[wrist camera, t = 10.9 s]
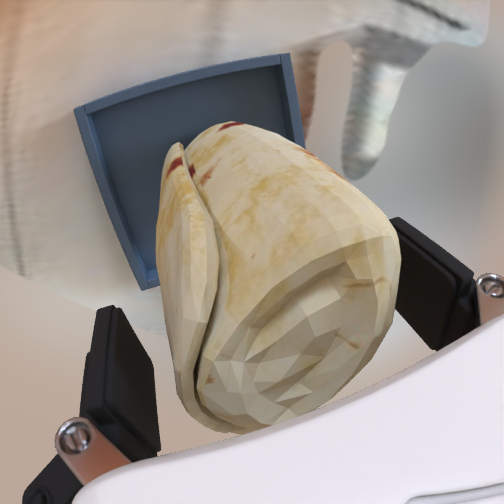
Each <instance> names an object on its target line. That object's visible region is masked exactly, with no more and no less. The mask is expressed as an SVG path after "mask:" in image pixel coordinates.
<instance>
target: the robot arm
mask: <svg viewBox="0 0 504 504" xmlns="http://www.w3.org/2000/svg"><path fill="white" fill-rule="evenodd" d="M389 221H390V223H391V224H392V226H393V227H394V229H395V230H396V232H397V236H398V239H399V246H400V254H401V266H400V274H399V283H398V290H397V297H396V304H395V309H396V310H397V311H398V312H399V314H400V315H401V316H402V317H403V318H404V319H405V320H406V321H407V322H408V324H409V325H410V326H411V327H412V328H413V329H414V330H415V332H416V333H417V334H418V335H419V336H420V337H421V338H422V339H423V341H424V342H425V343H426V344H427V345H428V346H429V348H430V349H432V350H436V351H437V352H436V353H434V354H432V355H430V356H428V357H427V358H425V359H423V360H421V361H419V362H417V363H416V364H414V365H412V366H410V367H408V368H406V369H404V370H402V371H400V372H398V373H396V374H394V375H392V376H390V377H388V378H386V379H385V380H382V381H380V382H378V383H376V384H374V385H372V386H370V387H367V388H365V389H363V390H361V391H359V392H356V393H354V394H352V395H350V396H347V397H345V398H343V399H340V400H338V401H336V402H333V403H331V404H329V405H326V406H323V407H321V408H318V409H316V410H313V411H311V412H308V413H305V414H303V415H300V416H297V417H295V418H292V419H289V420H286V421H283V422H281V423H278V424H275V425H272V426H269V427H266V428H263V429H259V430H256V431H253V432H250V433H247V434H243V435H240V436H237V437H233V438H229V439H226V440H222V441H218V442H214V443H211V444H207V445H203V446H199V447H196V448H191V449H187V450H183V451H179V452H174V453H170V454H165V455H161V456H157V452H158V451H160V450H161V443H160V436H159V435H160V434H159V425H158V415H157V406H156V405H157V404H156V393H155V381H154V380H155V379H154V367H153V364H152V361H151V359H150V357H149V356H148V354H147V352H146V351H145V349H144V347H143V346H142V344H141V343H140V341H139V339H138V337H137V336H136V334H135V332H134V330H133V329H132V327H131V325H130V323H129V321H128V320H127V318H126V316H125V314H124V312H123V311H122V309H121V308H116V307H115V306H114V305H110V306H107V307H104V308H100V309H98V310H97V313H96V319H95V325H94V330H93V336H92V343H91V350H90V352H89V353H87V356H86V362H85V369H84V376H83V384H82V394H81V403H80V414H79V417H74V418H71V419H68V420H67V421H66V422H64V423H63V424H62V425H61V426H60V428H59V429H58V431H57V433H56V436H55V448H56V450H57V452H58V454H57V455H56V456H55V457H54V458H53V459H52V461H51V462H50V463H49V464H48V465H47V466H46V467H45V468H44V469H43V470H42V472H41V473H40V474H39V475H38V476H37V477H36V478H35V479H34V480H33V481H32V483H31V484H30V485H29V486H28V487H27V489H26V490H25V492H24V494H23V499H22V504H504V277H502V276H500V275H497V274H492V273H486V274H483V275H481V276H480V277H478V279H477V280H476V281H475V280H474V279H473V275H474V272H473V271H471V270H470V269H469V268H468V267H466V266H465V265H464V264H463V263H461V262H460V261H459V260H457V259H456V258H455V257H454V256H452V255H451V254H450V253H448V252H447V251H446V250H444V249H443V248H442V247H440V246H439V245H438V244H436V243H435V242H434V241H432V240H431V239H429V238H428V237H427V236H426V235H424V234H422V233H421V232H420V231H419V230H417V229H416V228H414V227H413V226H411V225H410V224H408V223H407V222H406V221H404V220H403V219H401V218H400V217H396V218H393V219H389Z"/></svg>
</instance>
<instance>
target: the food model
mask: <svg viewBox="0 0 504 504" xmlns="http://www.w3.org/2000/svg"><path fill="white" fill-rule="evenodd" d="M156 266H157V271H158V276H159V281H160V287H161V293H162V300H163V309H164V317H165V325H166V330H167V335H168V340H169V344H170V350H171V355H172V360H173V366H174V373H175V382H176V391H177V395H178V396H179V398H180V400H181V402H182V404H183V406H184V408H185V409H186V411H187V412H188V413H189V414H190V415H191V416H192V417H193V418H194V419H195V420H196V421H198V422H199V423H201V424H202V425H204V426H205V427H207V428H210V429H212V430H214V431H217V432H222V433H228V432H232V433H236V434H241V435H243V434H247V433H250V432H253V431H256V430H259V429H263V428H266V427H269V426H272V425H275V424H278V423H281V422H283V421H286V420H289V419H292V418H295V417H297V416H300V415H303V414H305V413H308V412H311V411H313V410H316V409H317V408H318V407H320V406H321V405H322V404H324V403H325V402H327V401H328V400H330V399H331V398H333V397H334V396H335V395H336V394H337V393H338V392H339V391H340V390H341V389H342V388H343V387H344V386H345V385H346V384H348V383H349V382H350V380H351V379H353V378H354V377H355V375H357V373H359V372H360V371H361V370H362V369H363V367H365V366H366V365H367V364H368V362H369V361H370V360H371V359H372V358H373V356H374V354H375V353H376V351H377V349H378V347H379V346H380V344H381V342H382V340H383V339H384V337H385V335H386V333H387V332H388V330H389V328H390V326H391V324H392V322H393V316H394V310H395V304H396V297H397V290H398V283H399V274H400V266H401V254H400V246H399V239H398V236H397V232H396V230H395V229H394V227H393V226H392V224H391V223H390V221H389V220H388V218H387V217H386V216H385V214H383V212H382V211H381V210H380V209H379V208H378V207H377V206H376V205H375V204H374V203H373V202H372V201H370V200H369V199H368V198H367V197H366V196H365V195H364V194H363V193H361V192H360V191H359V190H358V189H357V188H355V187H354V186H353V185H352V184H351V183H349V182H348V181H347V180H346V179H344V178H343V177H342V176H341V175H339V174H338V173H337V172H335V171H334V170H333V169H331V168H330V167H329V166H327V165H326V164H325V163H323V162H322V161H321V160H320V159H318V158H317V157H316V156H314V155H313V154H311V153H310V152H308V151H307V150H305V149H304V148H302V147H301V146H299V145H297V144H295V143H293V142H291V141H289V140H287V139H286V138H284V137H282V136H280V135H279V134H277V133H273V132H270V131H267V130H264V129H262V128H259V127H255V126H252V125H248V124H244V123H239V122H233V121H230V122H226V123H222V124H217V125H214V126H212V127H210V128H208V129H207V130H205V131H203V132H202V133H200V134H199V135H198V136H197V137H196V138H195V139H194V140H193V141H192V142H191V143H190V144H189V145H188V147H187V148H186V149H185V150H183V145H182V144H181V143H180V142H177V143H176V144H174V145H172V147H171V148H170V149H169V151H168V153H167V156H166V158H165V162H164V166H163V170H162V178H161V191H160V203H159V214H158V220H157V225H156Z"/></svg>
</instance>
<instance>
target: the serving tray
mask: <svg viewBox="0 0 504 504" xmlns="http://www.w3.org/2000/svg"><path fill="white" fill-rule="evenodd" d="M74 113H75V116H76V120H77V123H78V127H79V130H80V133H81V137H82V140H83V143H84V146H85V149H86V152H87V155H88V158H89V161H90V164H91V167H92V170H93V173H94V176H95V179H96V182H97V184H98V187H99V190H100V193H101V195H102V198H103V201H104V203H105V206H106V209H107V211H108V214H109V216H110V219H111V221H112V224H113V226H114V229H115V231H116V234H117V236H118V239H119V241H120V243H121V246H122V248H123V251H124V253H125V255H126V258H127V260H128V262H129V264H130V267H131V269H132V271H133V273H134V276H135V278H136V280H137V282H138V284H139V286H140V289H141V290H142V291H143V290H146V289H149V288H153V287H156V286H160V281H159V276H158V271H157V266H156V225H157V220H158V214H159V203H160V191H161V178H162V170H163V166H164V162H165V158H166V156H167V153H168V151H169V149H170V148H171V147H172V145H174V144H176V143H177V142H180V143H181V144H182V145H183V150H185V149H186V148H187V147H188V145H189V144H190V143H191V142H192V141H193V140H194V139H195V138H196V137H197V136H198V135H199V134H200V133H202V132H203V131H205V130H207V129H208V128H210V127H212V126H214V125H217V124H222V123H226V122H230V121H233V122H239V123H244V124H248V125H252V126H255V127H259V128H262V129H264V130H267V131H270V132H273V133H277V134H279V135H280V136H282V137H284V138H286V139H287V140H289V141H291V142H293V143H295V144H297V145H299V146H301V147H302V148H304V149H305V142H304V135H303V129H302V122H301V115H300V109H299V103H298V97H297V91H296V85H295V79H294V73H293V68H292V62H291V57H290V53H285V54H277V55H269V56H262V57H256V58H250V59H244V60H238V61H233V62H227V63H222V64H217V65H213V66H208V67H204V68H199V69H195V70H191V71H187V72H183V73H179V74H175V75H171V76H168V77H164V78H161V79H157V80H154V81H150V82H147V83H144V84H140V85H137V86H134V87H131V88H128V89H125V90H122V91H119V92H116V93H114V94H111V95H108V96H105V97H103V98H100V99H97V100H95V101H92V102H89V103H87V104H85V105H82V106H79V107H77V108H75V109H74ZM305 150H306V149H305Z"/></svg>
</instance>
